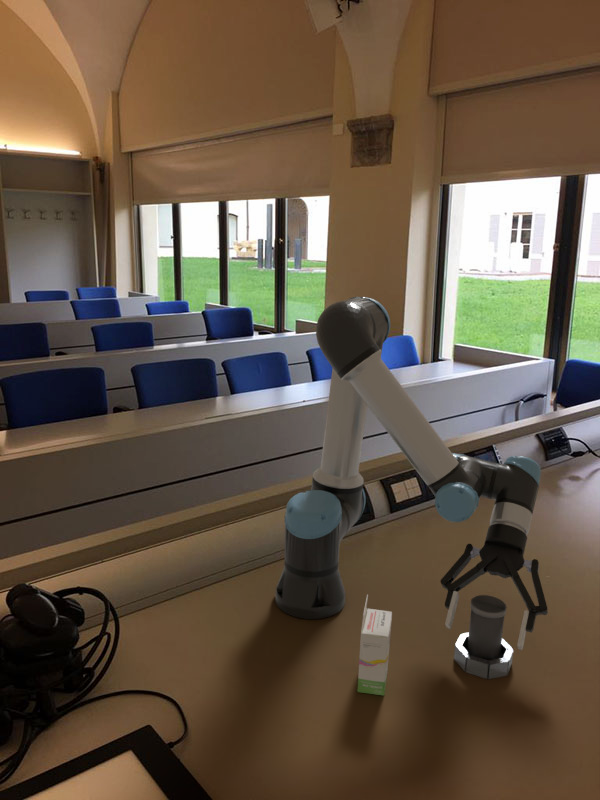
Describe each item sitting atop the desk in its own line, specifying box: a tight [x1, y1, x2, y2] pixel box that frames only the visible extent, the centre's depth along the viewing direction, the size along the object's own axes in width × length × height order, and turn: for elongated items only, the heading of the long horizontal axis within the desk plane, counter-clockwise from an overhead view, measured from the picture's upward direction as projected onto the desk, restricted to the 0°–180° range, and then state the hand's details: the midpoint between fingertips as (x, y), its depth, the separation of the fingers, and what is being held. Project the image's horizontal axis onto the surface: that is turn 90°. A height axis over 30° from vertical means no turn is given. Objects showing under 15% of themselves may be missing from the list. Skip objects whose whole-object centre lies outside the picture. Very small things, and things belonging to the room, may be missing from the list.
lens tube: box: [467, 594, 508, 660], centre depth 126 cm, size 6×6×12 cm
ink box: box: [357, 594, 393, 696], centre depth 120 cm, size 9×5×15 cm, turn 168°
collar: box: [453, 632, 514, 680], centre depth 127 cm, size 10×10×3 cm
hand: (482, 637), depth 124 cm, fingers open, 12 cm apart
